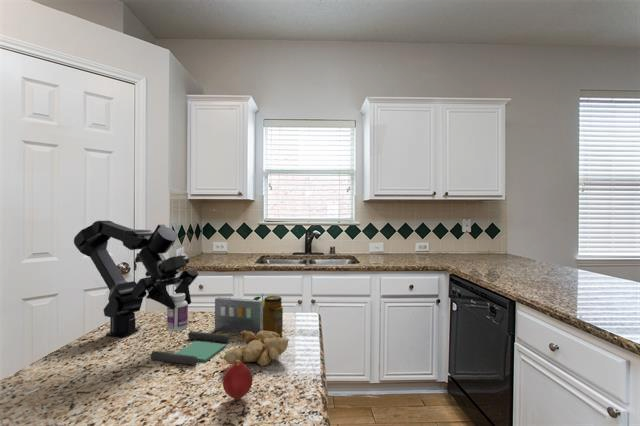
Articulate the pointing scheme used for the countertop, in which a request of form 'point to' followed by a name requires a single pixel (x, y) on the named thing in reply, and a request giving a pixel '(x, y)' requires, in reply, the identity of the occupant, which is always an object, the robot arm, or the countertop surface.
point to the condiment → (273, 315)
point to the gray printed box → (238, 315)
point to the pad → (202, 350)
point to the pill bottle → (177, 313)
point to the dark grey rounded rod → (174, 358)
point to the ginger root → (258, 348)
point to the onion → (237, 380)
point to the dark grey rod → (208, 336)
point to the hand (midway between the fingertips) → (182, 305)
